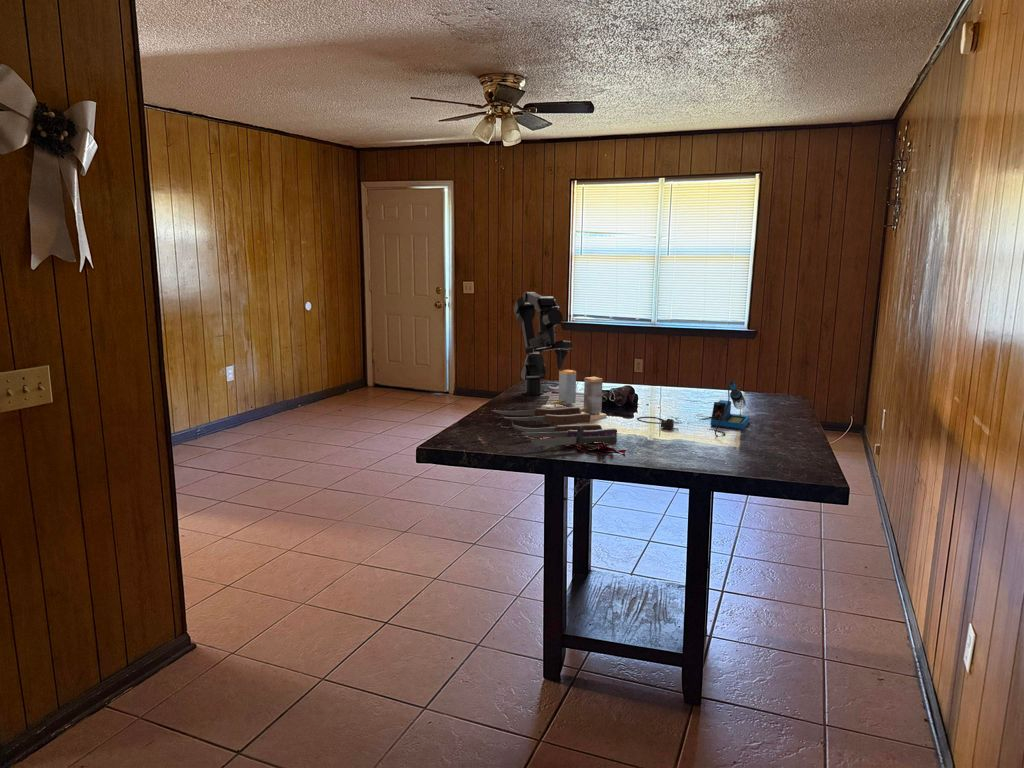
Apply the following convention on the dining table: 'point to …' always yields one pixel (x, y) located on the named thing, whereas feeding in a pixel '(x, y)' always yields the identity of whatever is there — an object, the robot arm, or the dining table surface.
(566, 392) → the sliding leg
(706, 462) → the dining table surface
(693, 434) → the dining table surface
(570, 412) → the knife set
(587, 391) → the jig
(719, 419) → the soldering iron
